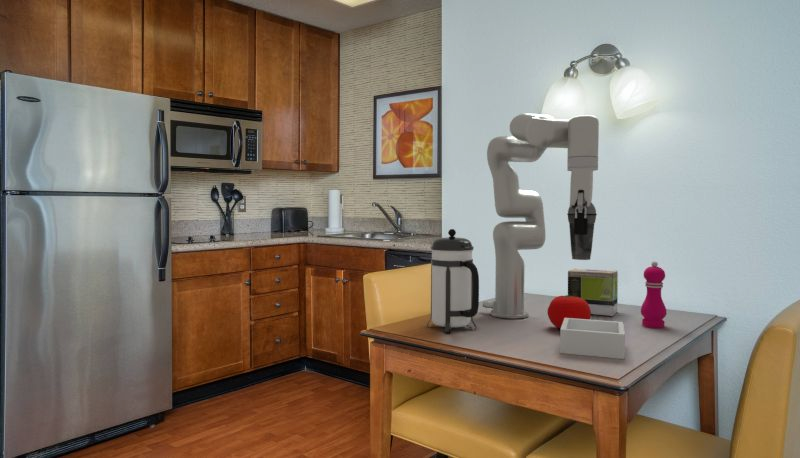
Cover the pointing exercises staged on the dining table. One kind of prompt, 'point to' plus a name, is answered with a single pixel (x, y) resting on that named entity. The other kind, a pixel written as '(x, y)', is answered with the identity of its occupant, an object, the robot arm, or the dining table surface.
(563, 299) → the tomato
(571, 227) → the beverage cup
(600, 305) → the tea box
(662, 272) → the pepper mill
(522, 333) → the dining table surface
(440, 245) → the coffee press
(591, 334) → the box
